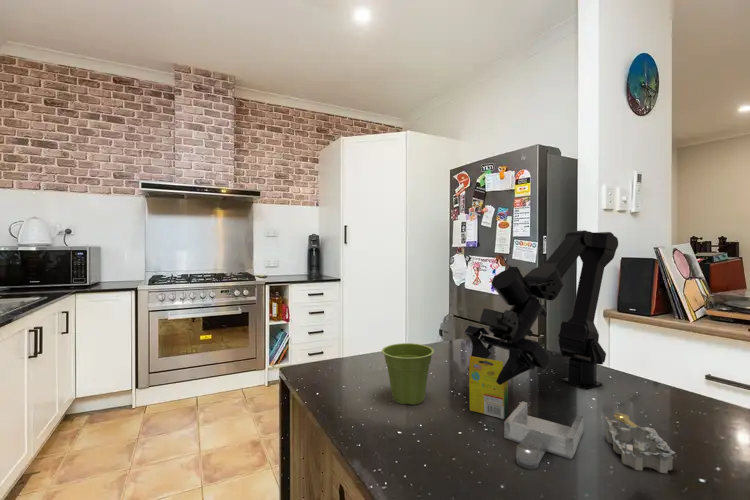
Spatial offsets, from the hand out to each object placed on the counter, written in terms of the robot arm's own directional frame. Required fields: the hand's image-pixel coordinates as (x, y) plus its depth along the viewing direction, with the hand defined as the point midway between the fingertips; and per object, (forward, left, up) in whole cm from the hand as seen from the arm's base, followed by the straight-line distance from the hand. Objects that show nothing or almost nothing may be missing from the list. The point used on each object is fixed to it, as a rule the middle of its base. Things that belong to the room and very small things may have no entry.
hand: (483, 377), depth 76 cm
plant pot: (+11, -13, -8) cm, 19 cm away
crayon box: (-1, 0, -8) cm, 8 cm away
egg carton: (-14, +22, -8) cm, 27 cm away
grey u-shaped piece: (-1, +13, -8) cm, 15 cm away
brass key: (-22, +16, -8) cm, 29 cm away
